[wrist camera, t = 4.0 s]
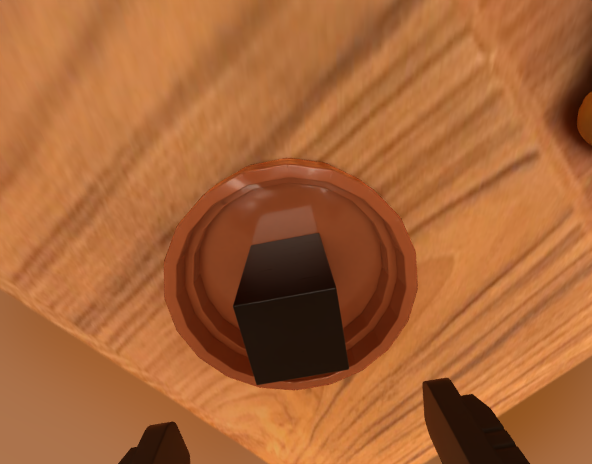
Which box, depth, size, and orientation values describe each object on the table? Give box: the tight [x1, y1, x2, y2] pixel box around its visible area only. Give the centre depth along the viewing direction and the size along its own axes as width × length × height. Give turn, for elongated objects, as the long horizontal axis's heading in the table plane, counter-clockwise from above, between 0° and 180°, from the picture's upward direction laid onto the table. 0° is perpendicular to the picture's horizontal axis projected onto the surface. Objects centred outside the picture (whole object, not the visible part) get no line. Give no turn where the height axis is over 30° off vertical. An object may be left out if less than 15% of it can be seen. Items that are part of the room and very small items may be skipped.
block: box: [233, 233, 349, 385], centre depth 17 cm, size 4×4×7 cm
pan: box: [164, 158, 418, 390], centre depth 19 cm, size 14×14×4 cm
